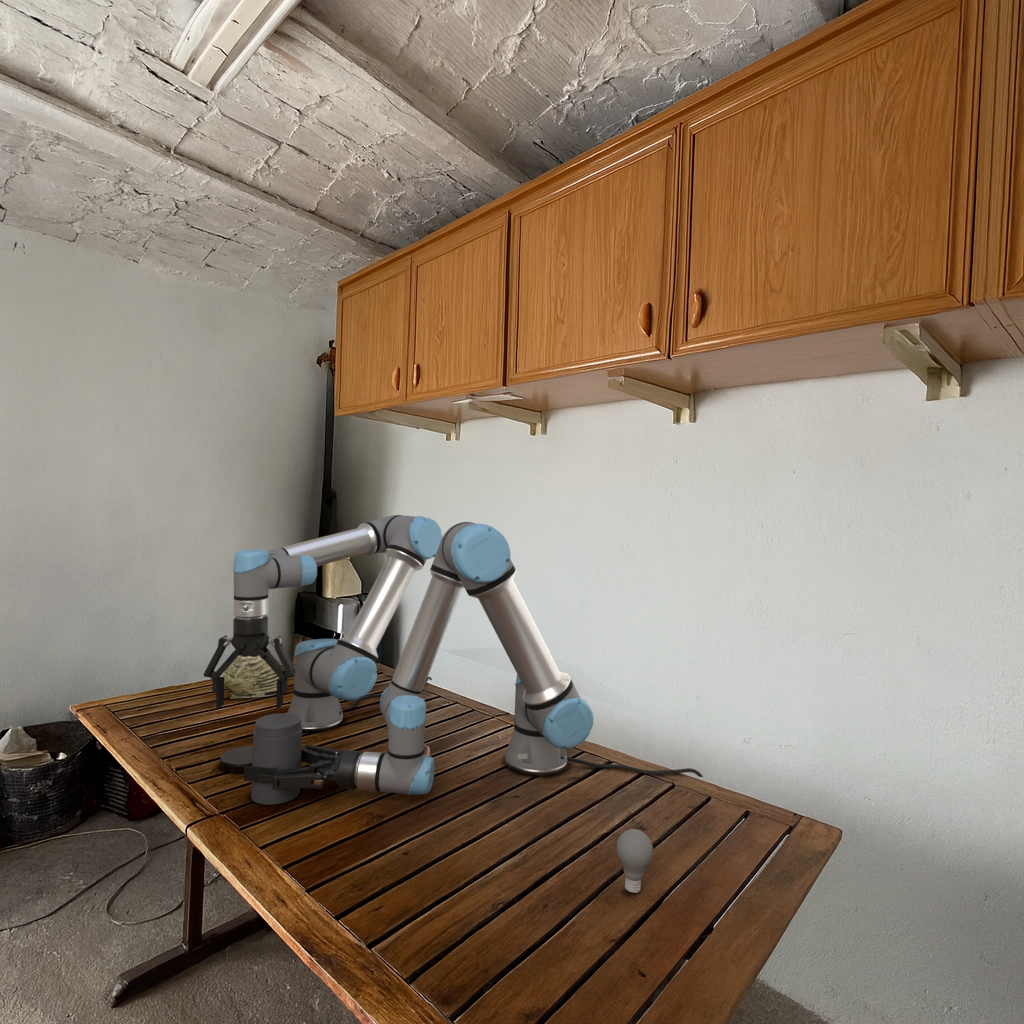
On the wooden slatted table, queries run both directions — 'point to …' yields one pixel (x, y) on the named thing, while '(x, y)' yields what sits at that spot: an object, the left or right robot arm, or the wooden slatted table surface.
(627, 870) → the light bulb
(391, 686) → the right robot arm
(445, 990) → the wooden slatted table surface
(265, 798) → the jar
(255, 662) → the fossil
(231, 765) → the lid
